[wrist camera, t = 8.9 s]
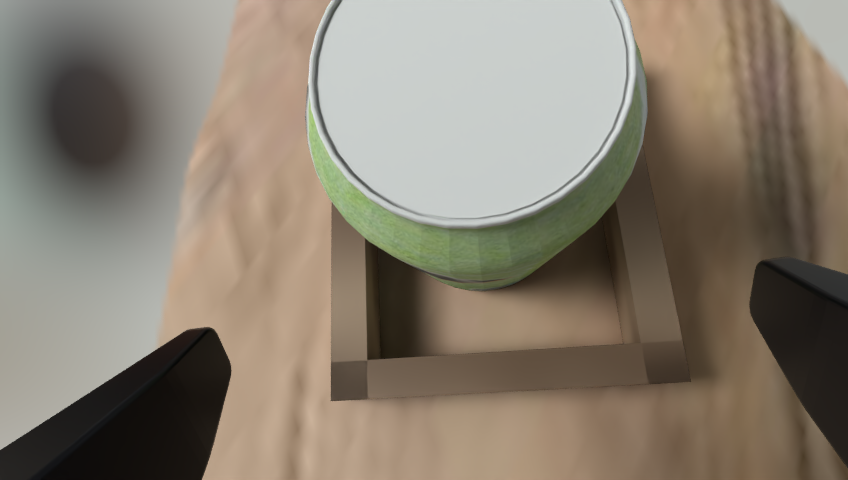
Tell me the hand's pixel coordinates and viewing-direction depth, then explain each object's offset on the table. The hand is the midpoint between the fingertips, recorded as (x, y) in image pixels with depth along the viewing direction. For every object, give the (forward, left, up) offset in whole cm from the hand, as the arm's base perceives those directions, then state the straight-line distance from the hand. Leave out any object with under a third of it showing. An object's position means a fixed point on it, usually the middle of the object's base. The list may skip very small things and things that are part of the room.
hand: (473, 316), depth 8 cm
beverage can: (+4, 0, -10) cm, 11 cm away
